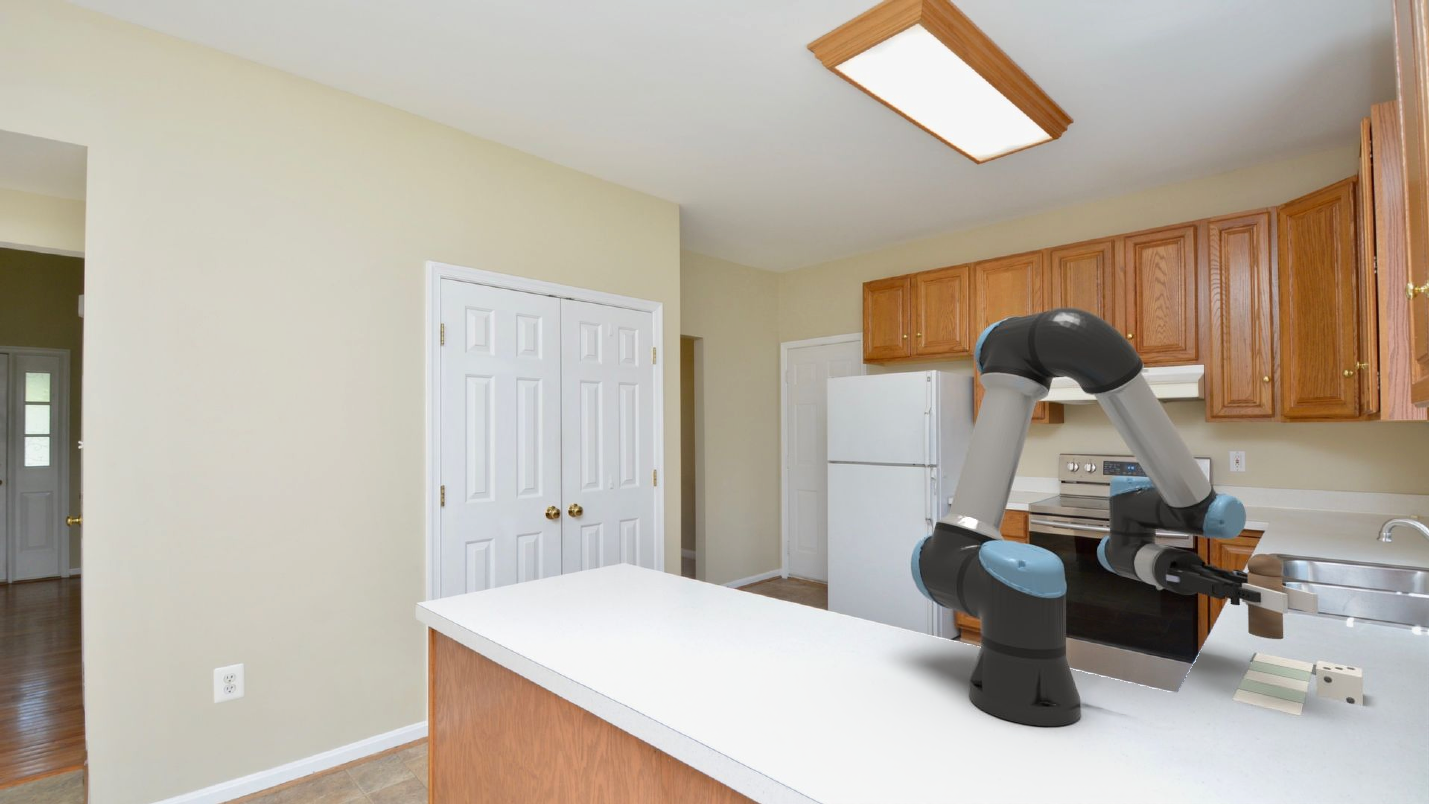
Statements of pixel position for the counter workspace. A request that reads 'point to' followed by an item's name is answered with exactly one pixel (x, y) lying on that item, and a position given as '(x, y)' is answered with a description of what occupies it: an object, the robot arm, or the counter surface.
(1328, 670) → the die
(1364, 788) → the counter surface
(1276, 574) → the pawn
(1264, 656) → the board
